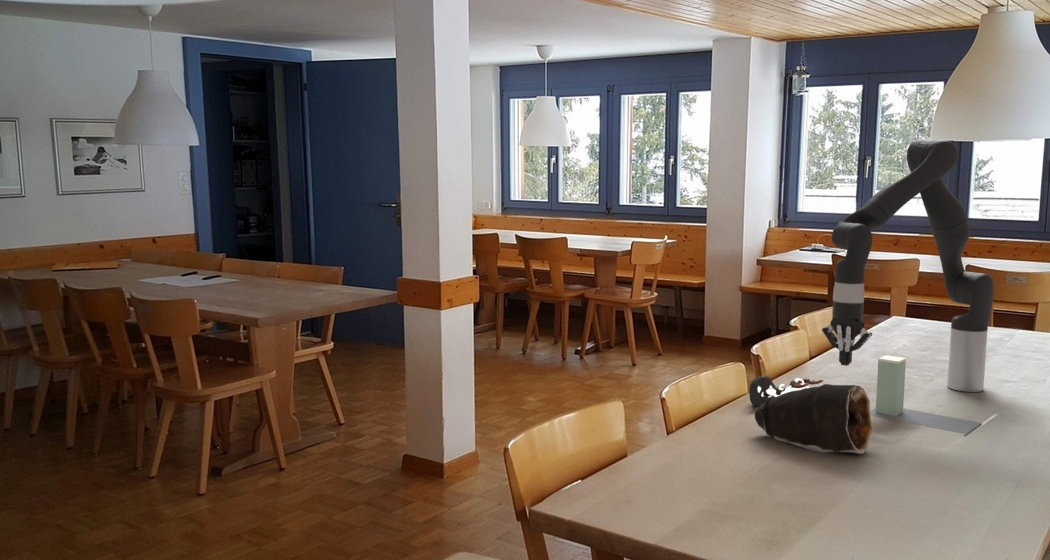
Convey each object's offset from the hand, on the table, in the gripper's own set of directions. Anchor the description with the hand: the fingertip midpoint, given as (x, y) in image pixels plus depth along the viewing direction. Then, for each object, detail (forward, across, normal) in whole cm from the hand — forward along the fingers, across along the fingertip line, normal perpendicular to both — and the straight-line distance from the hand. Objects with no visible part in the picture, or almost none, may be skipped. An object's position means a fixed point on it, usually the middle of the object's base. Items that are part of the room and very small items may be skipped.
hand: (844, 364), depth 227 cm
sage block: (+10, -12, 0) cm, 16 cm away
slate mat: (+11, -20, 0) cm, 23 cm away
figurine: (+12, +10, +14) cm, 20 cm away
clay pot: (+12, -7, +36) cm, 38 cm away
